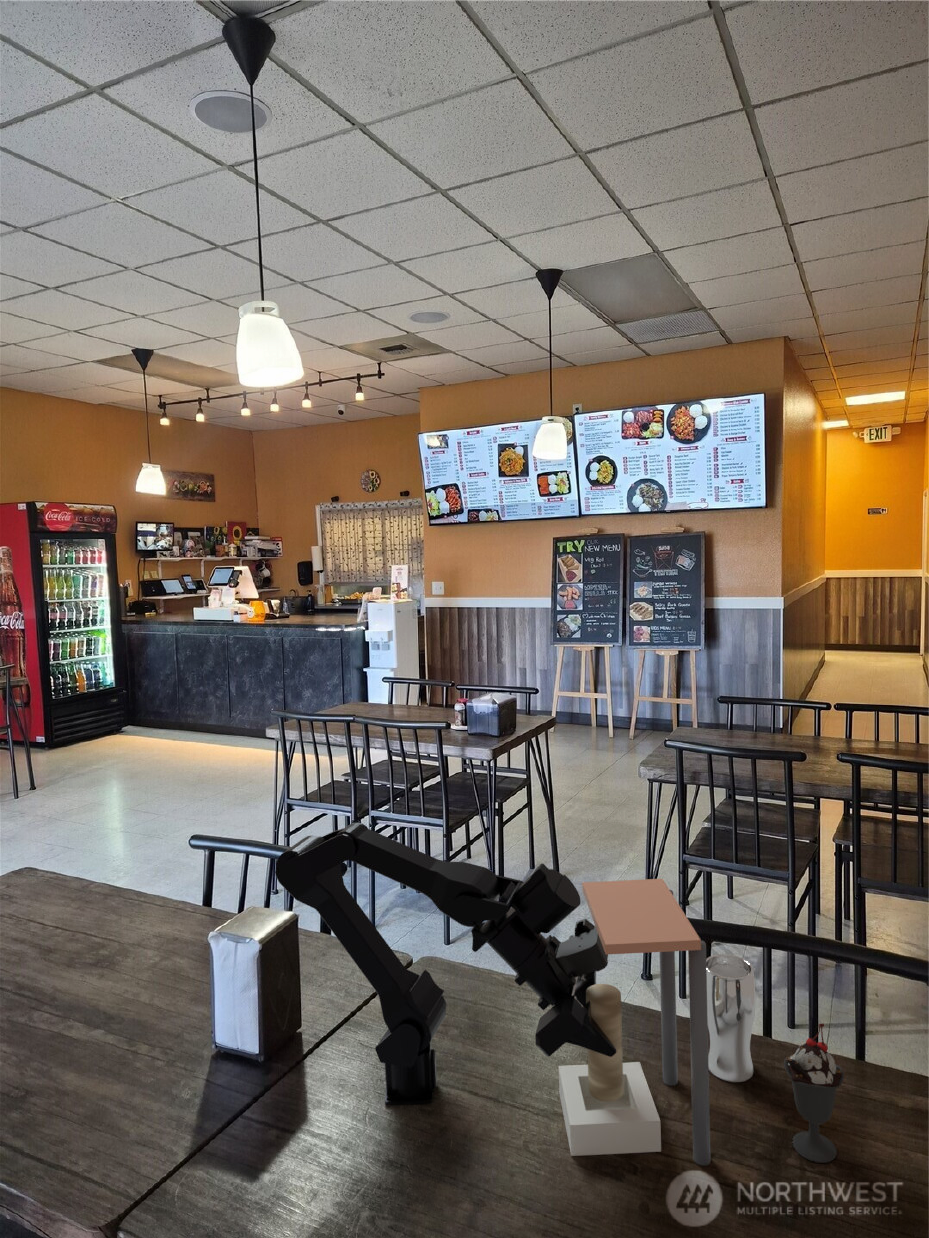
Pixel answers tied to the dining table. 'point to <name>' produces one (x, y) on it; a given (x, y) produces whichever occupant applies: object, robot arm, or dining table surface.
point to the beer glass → (730, 1016)
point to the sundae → (814, 1096)
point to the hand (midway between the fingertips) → (615, 1042)
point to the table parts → (658, 924)
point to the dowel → (607, 1015)
